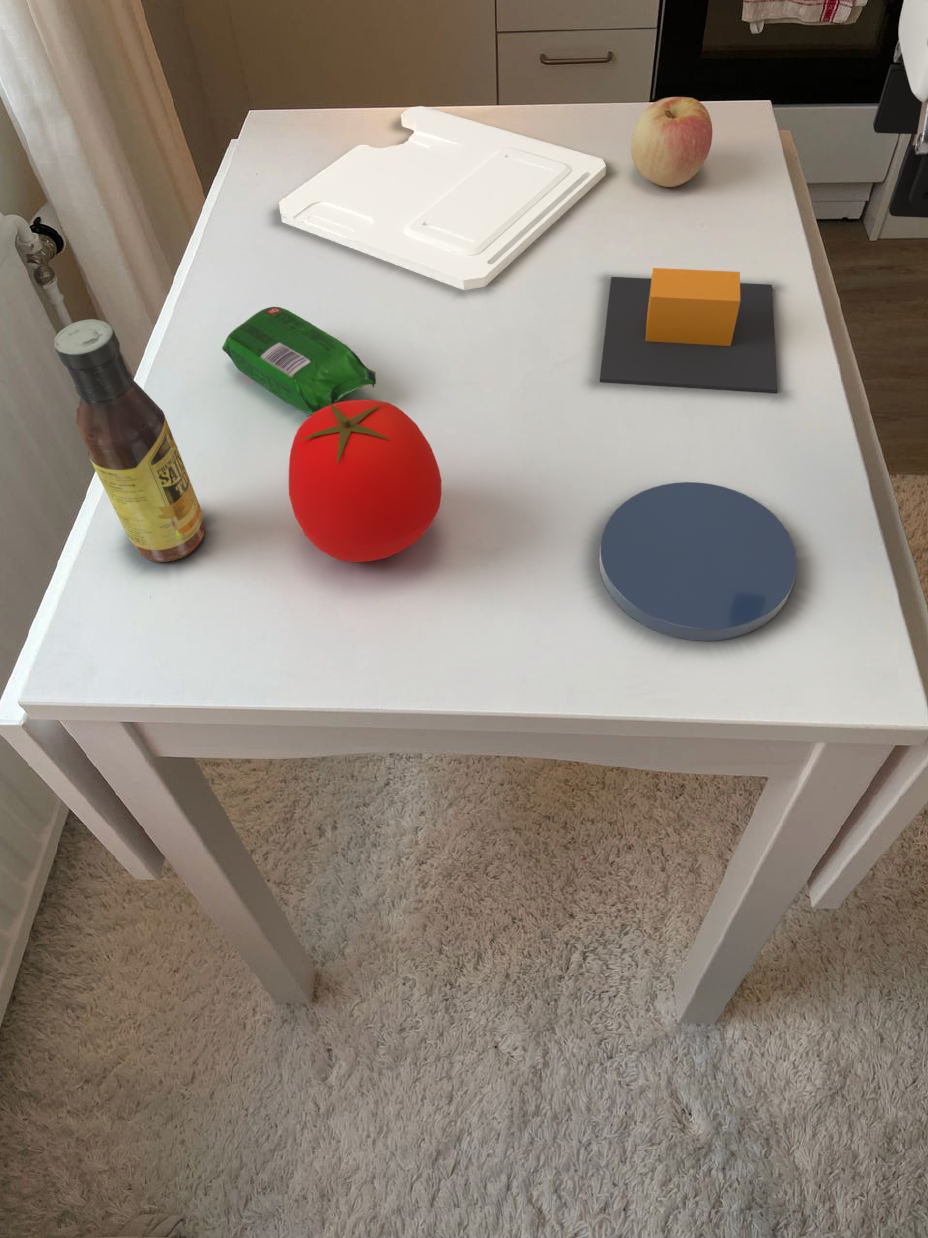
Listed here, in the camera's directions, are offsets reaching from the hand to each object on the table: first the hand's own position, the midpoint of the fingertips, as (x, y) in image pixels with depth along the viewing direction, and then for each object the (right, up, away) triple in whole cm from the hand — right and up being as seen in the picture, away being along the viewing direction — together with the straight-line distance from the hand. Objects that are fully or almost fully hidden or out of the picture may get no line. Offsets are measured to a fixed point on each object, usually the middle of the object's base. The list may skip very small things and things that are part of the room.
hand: (906, 170), depth 59 cm
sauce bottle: (-52, -21, +21) cm, 60 cm away
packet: (-6, 0, +33) cm, 33 cm away
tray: (-30, +21, +50) cm, 62 cm away
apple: (-4, +22, +50) cm, 55 cm away
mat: (-6, 0, +33) cm, 33 cm away
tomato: (-35, -21, +20) cm, 45 cm away
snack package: (-43, -6, +31) cm, 54 cm away
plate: (-9, -23, +16) cm, 30 cm away
